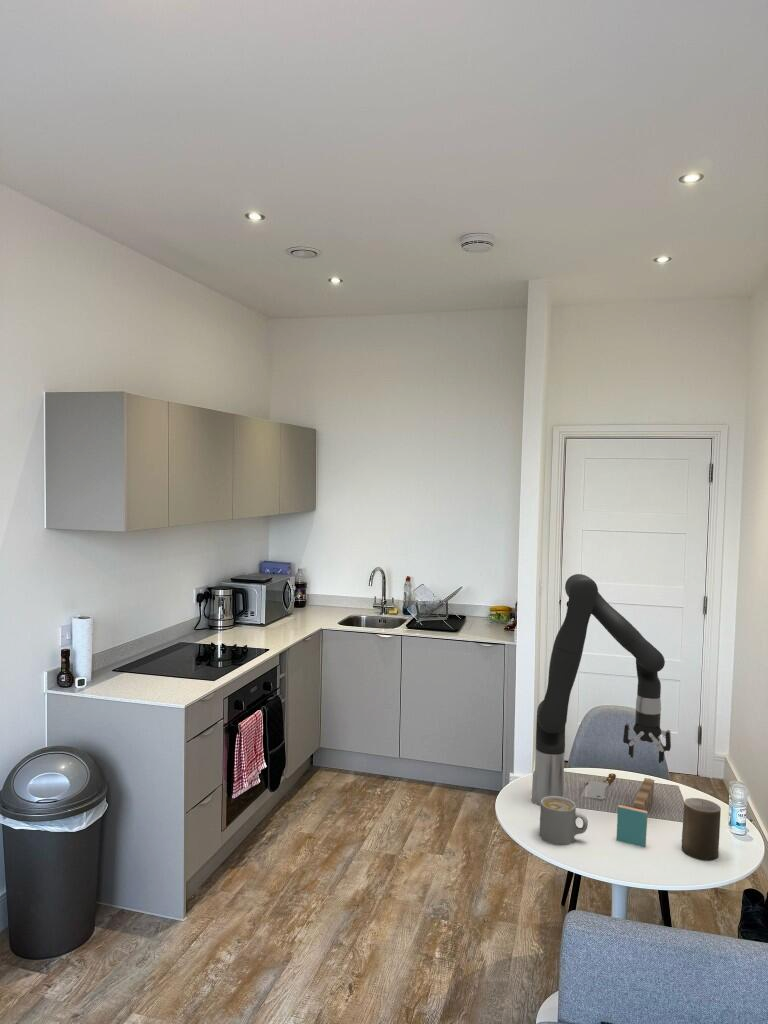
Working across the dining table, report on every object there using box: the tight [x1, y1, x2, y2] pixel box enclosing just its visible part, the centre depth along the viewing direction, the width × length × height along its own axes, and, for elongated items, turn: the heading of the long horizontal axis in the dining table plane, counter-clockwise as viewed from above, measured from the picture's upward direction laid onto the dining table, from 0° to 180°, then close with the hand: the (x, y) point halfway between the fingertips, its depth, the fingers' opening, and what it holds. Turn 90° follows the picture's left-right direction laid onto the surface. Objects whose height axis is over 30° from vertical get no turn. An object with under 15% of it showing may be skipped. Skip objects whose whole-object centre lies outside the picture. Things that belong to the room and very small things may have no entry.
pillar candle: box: [681, 797, 722, 861], centre depth 204 cm, size 10×10×15 cm
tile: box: [615, 804, 649, 848], centre depth 208 cm, size 8×2×10 cm, turn 63°
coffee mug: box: [538, 796, 588, 846], centre depth 209 cm, size 13×10×10 cm
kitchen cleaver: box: [588, 773, 617, 802], centre depth 248 cm, size 24×1×10 cm
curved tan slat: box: [632, 777, 655, 811], centre depth 231 cm, size 22×3×6 cm, turn 151°
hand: (646, 759), depth 231 cm, fingers open, 8 cm apart
